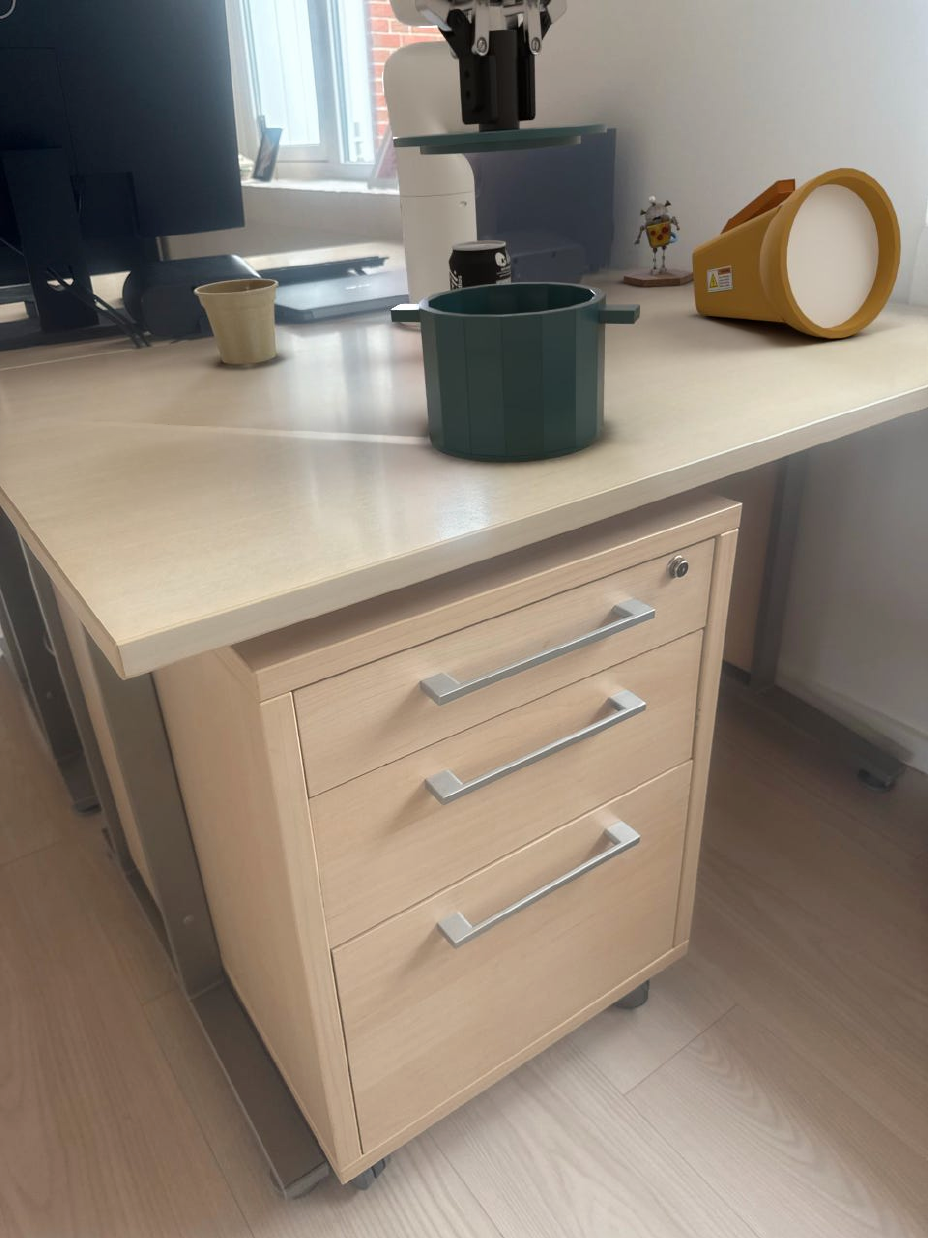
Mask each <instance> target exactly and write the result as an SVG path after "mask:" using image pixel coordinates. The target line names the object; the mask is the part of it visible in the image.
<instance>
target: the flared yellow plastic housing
mask: <svg viewBox="0 0 928 1238" xmlns="http://www.w3.org/2000/svg"><path fill="white" fill-rule="evenodd" d="M897 215H898V214H897V213H896V210H895V206H894V205H893V201H892V200H891V198H890V197H889V195H888V193H887V192H886V190H885V188H884V187H883V186H882V185H881V184H880V183H879V181H877V179H875V178H874V177H872V176H871V175H869V174H868V173H866V172H865V171H861V170H859V169H856V168H851V167H850V168H849V167H839V168H835V169H831V170H828V171H825V172H823V173H821V174H818V175H816V176H815V177H813V178H811V179H809V180H807V181H806V182H805V183H803V184H802V185H800V186H799V187H798V188H796V178H788V179H779V180H776V181H775V182H774V183H772V184H771V185H770V186H769V187H768V188H766V189H765V190H764V191H762V193H760V194H759V195H758V196H756V198H754V199H753V200H752V201H750V202H749V203H748V204H747V205H745V207H743V208H742V209H741V210H739V212H737V213H735V214H734V215H733V216H732V217H730V218H728V220H727V221H726V223H725V225H724V227H723V229H722V230H721V232H720V233H719V235H717V236H715V237H713V238H711V239H708V240H706V241H705V242H703V243H701V244H699V245H697V246H696V247H695V248H694V249H693V251H692V256H691V263H692V272H693V278H694V279H693V291H694V293H693V294H694V304H695V305H694V306H695V310H696V312H697V313H698V314H699V315H701V316H707V317H708V316H709V317H719V318H732V319H743V320H753V321H764V322H774V323H775V322H776V323H785V324H787V325H789V326H790V327H792V328H793V329H794V330H796V331H798V332H801V333H803V334H806V335H808V336H811V337H816V338H822V339H823V338H824V339H843V338H847V337H850V336H853V335H856V334H857V333H859V332H861V331H863V330H865V329H866V328H867V327H868V326H869V325H870V324H872V322H874V321H875V319H877V317H878V316H879V315H880V313H881V312H882V311H883V309H884V308H885V306H886V304H887V303H888V301H889V299H890V297H891V296H892V295H891V294H892V293H893V290H894V287H895V284H896V281H897V279H898V273H899V268H900V264H901V254H902V253H901V251H902V242H901V229H900V224H899V220H898V216H897Z"/></svg>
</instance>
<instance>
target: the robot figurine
mask: <svg viewBox="0 0 928 1238" xmlns="http://www.w3.org/2000/svg"><path fill="white" fill-rule="evenodd" d="M648 203H649V204H650V205H649V206H648V207H647V208H646V211H645V210H644V209H642V208H640V211H639V217H641V216H642V215H644V216H645V217H644V220H643V224H641V225H640V226H639V230H638V231H639V232H638V234H637V237H636V239H634V240H633V245H640V243H641V238H642V234H643V231H644V233H645V237H646V240H647V242H648V245H649V247H650V248H651V249H652V252H653V255H654V256H653V259H652V262H653V268H652V269H642V270H640V269H639V270H636V271H633V272H630V273H628V274H625V275H623V283H624V284H629V285H633V286H638V287H643V288H644V287H645V288H646V287H664V286H665V287H666V286H669V287H670V286H681V285H683V284H686V283H688V282H691V281H694V278H693V271H689V270H683V269H677V268H666V265H665V260H666V256H665V251H666V250H667V247H668V246H669V245H670V244H675V243H676V242H678V239H679V238H678V235H677V234H676V233H675V232H674V231H672V225H674V226H675V227H676V231H677V232H678V231H680V230H681V227H680V226H679V225H680V224H679V222H678V219H677V217H676V216H675V215H672V216H670V215H669V214H668V213H669V211H668V208H667V207H669V206H672V204H671V202H670V201H669V200H668V199H666V201H665V204H663V203H662V202H656V197H655V196H654V195H652V196H649V198H648ZM671 238H672V239H671ZM658 248H661V250H662V255H661V260H662V261H661V263H662V264H661V267H660V268H657V263H656V262H657V258H656V254H657V252H658V250H659V249H658Z"/></svg>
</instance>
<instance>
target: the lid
mask: <svg viewBox="0 0 928 1238" xmlns="http://www.w3.org/2000/svg"><path fill="white" fill-rule="evenodd" d="M487 56H495V61H496V78H497V106H498V118H497V120H496V122H495V123H486V124H479V131H473V132H459V133H445V134H432V135H419V136H407V137H396V138H393V137H392V142H393V143H392V144H393V148H395V147H420V154H421V155H441V154H476V153H477V154H479V153H480V154H481V153H493V152H495V153H496V152H508V151H509V152H510V151H522V150H533V149H534V150H535V149H547V148H548V149H549V148H557V147H567V146H577V145H581V142H582V141H581V136H590V135H599V134H600V135H601V134H606V133H607V132H608V123H607V122H598V123H597V122H596V123H578V124H561V125H548V126H534V127H531V126H530V127H521V122H520V116H519V77H518V38H517V30H493V31H489V48H488V52H487Z"/></svg>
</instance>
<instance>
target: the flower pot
mask: <svg viewBox="0 0 928 1238" xmlns="http://www.w3.org/2000/svg"><path fill="white" fill-rule="evenodd" d="M278 286H279V281H278V280H276V279H271V278H244V279H243V278H242V279H232V280H224V281H218V282H213V283H208V284H204V285H201V286H198V287H196V288H195V289H194V290H193V293H194V295H196V296H198V299H199V302H200V304H201V306H202V307H203V308H204V311H205V313H206V316H207V319H208V322H209V326H210V328H211V331H212V334H213V337H214V340H215V342H216V345H217V346H216V347H217V348H218V352H219V355H220V358H221V361H222V362H223V363H224V364H228V365H247V364H256V363H261V362H265V361H269V360H271V359H274V358H275V357H276V356H277V350H276V347H277V345H276V325H275V324H276V321H275V300H276V299H277V298H276V297H277V287H278Z"/></svg>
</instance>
